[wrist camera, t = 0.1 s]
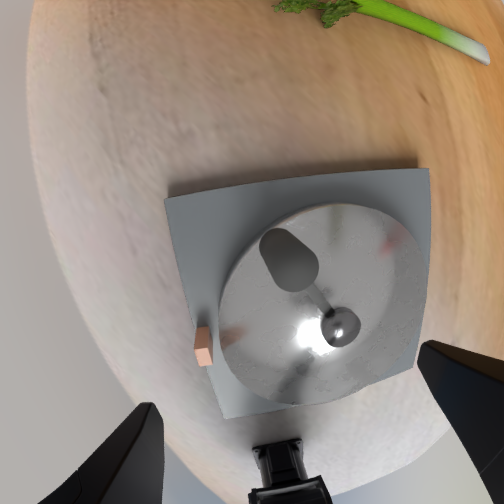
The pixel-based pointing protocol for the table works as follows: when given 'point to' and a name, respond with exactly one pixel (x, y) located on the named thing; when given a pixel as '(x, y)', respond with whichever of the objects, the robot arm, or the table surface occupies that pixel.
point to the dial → (321, 303)
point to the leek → (373, 4)
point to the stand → (256, 219)
